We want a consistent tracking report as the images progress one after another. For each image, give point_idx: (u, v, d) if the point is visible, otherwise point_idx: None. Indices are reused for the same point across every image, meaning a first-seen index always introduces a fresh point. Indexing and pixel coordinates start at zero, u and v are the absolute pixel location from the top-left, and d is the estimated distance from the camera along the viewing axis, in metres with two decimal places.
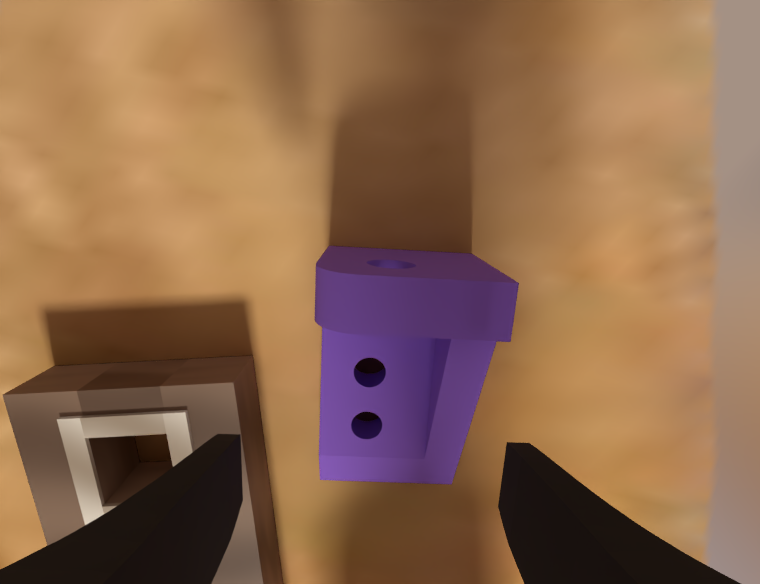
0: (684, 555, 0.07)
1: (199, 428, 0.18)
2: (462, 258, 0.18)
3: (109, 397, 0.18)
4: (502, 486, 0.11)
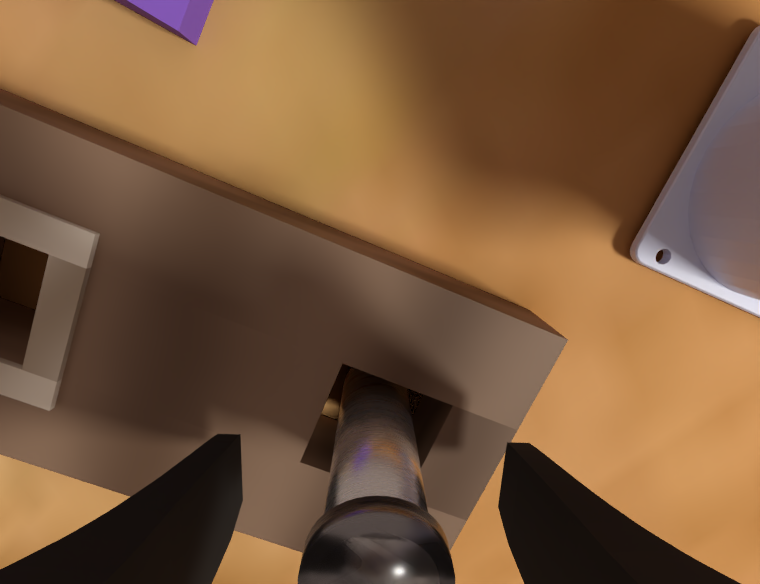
0: (684, 555, 0.07)
1: None
2: None
3: None
4: (502, 486, 0.11)
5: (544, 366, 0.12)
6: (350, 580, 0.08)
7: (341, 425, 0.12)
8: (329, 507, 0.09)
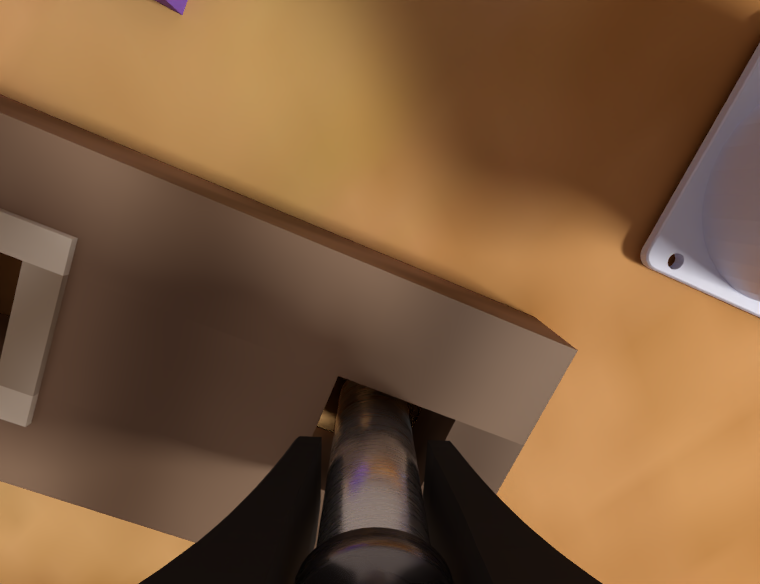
0: (558, 552, 0.07)
1: None
2: None
3: None
4: (424, 484, 0.11)
5: (552, 378, 0.12)
6: None
7: (336, 442, 0.11)
8: (322, 537, 0.08)
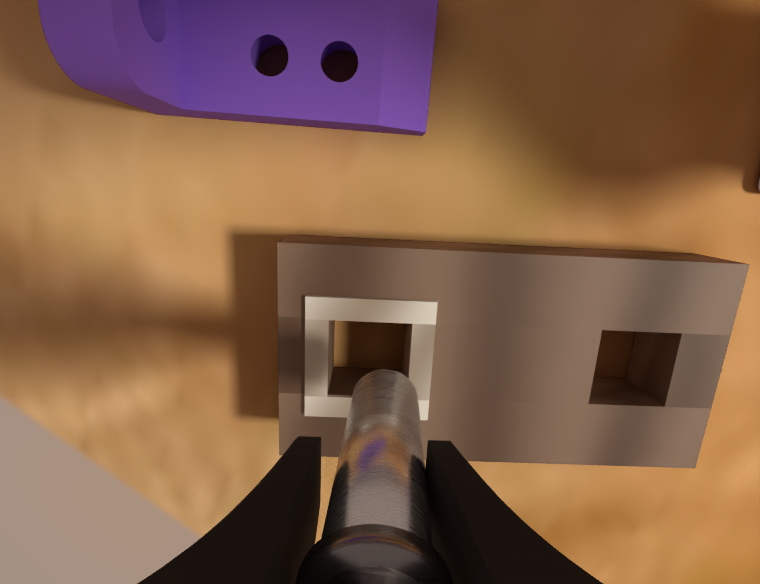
0: (559, 552, 0.07)
1: (327, 287, 0.17)
2: None
3: (287, 365, 0.18)
4: None
5: (737, 287, 0.18)
6: None
7: (345, 440, 0.11)
8: (326, 532, 0.08)
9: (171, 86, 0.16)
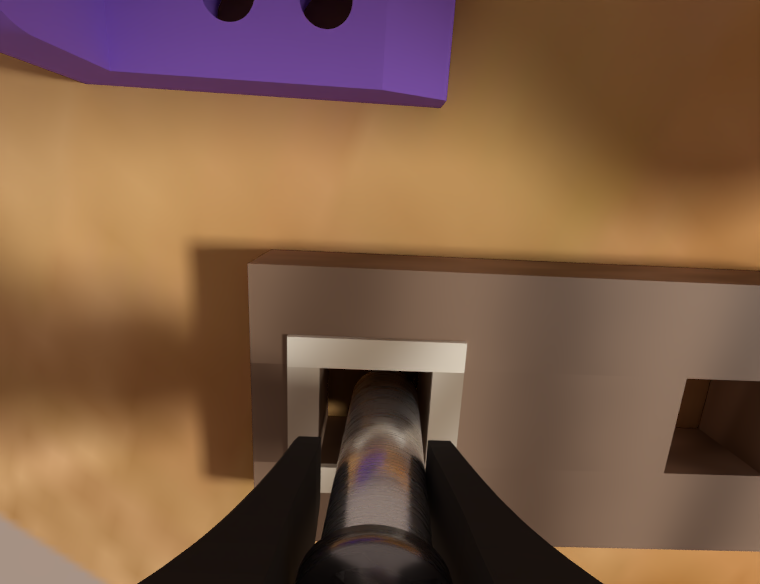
0: (558, 552, 0.07)
1: (318, 323, 0.13)
2: None
3: (264, 426, 0.14)
4: None
5: None
6: None
7: (345, 440, 0.11)
8: (325, 532, 0.08)
9: (84, 34, 0.11)
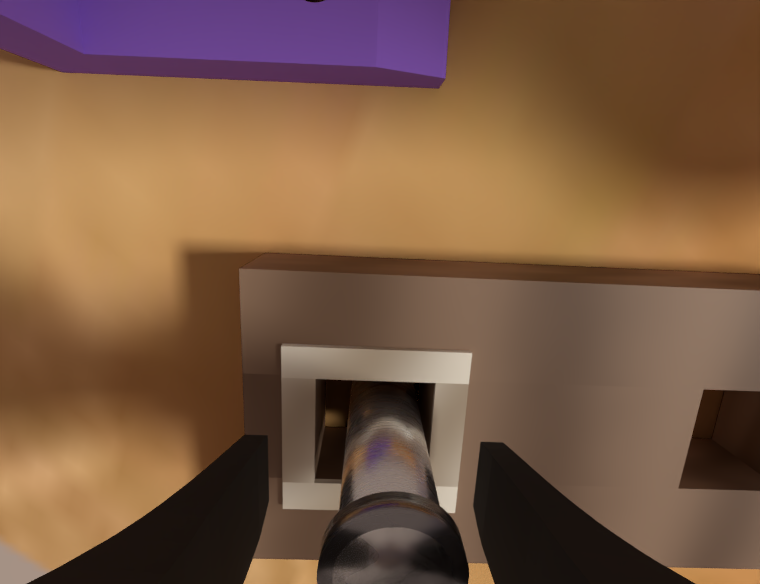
0: (643, 554, 0.07)
1: (313, 331, 0.12)
2: None
3: None
4: (476, 486, 0.11)
5: None
6: (367, 573, 0.08)
7: (352, 424, 0.12)
8: (344, 503, 0.09)
9: (53, 12, 0.10)
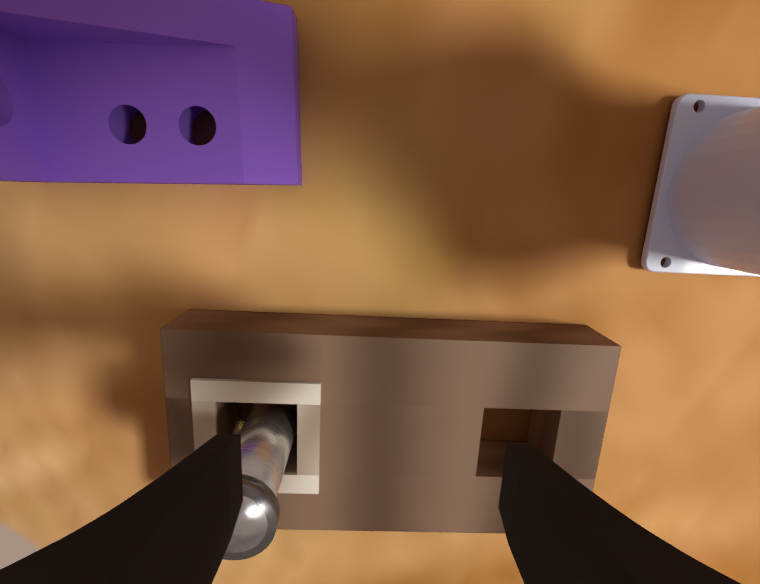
0: (684, 555, 0.07)
1: (213, 370, 0.18)
2: None
3: (177, 443, 0.19)
4: (502, 486, 0.11)
5: (612, 367, 0.18)
6: None
7: None
8: None
9: (27, 163, 0.16)
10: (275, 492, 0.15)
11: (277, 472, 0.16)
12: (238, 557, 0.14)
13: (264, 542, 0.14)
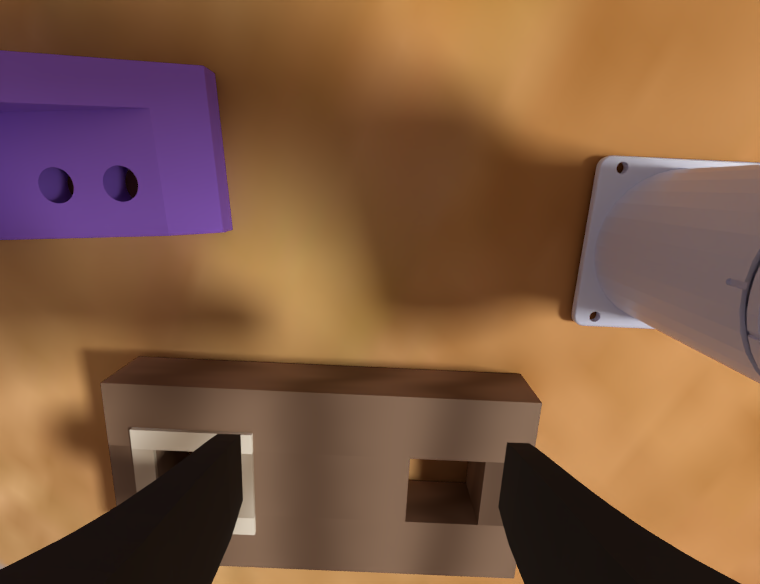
0: (684, 555, 0.07)
1: (150, 420, 0.19)
2: None
3: (122, 486, 0.20)
4: (502, 486, 0.11)
5: (533, 422, 0.19)
6: None
7: None
8: None
9: None
10: None
11: None
12: None
13: None
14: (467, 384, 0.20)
